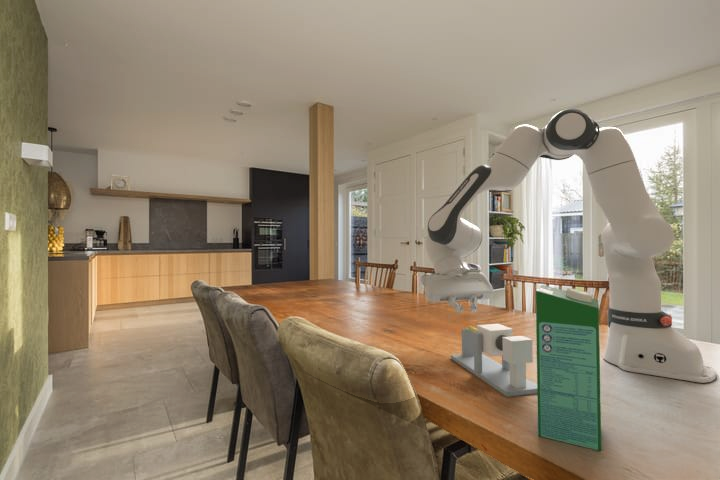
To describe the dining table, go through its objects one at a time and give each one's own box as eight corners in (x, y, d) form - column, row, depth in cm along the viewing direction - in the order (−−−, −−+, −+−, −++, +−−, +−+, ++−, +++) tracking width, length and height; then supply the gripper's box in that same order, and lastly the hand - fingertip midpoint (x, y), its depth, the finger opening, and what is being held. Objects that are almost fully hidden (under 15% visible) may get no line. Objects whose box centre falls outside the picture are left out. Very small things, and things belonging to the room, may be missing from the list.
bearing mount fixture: (451, 358, 103) (450, 317, 103) (479, 355, 105) (479, 315, 105) (506, 396, 78) (505, 343, 78) (543, 392, 80) (542, 339, 80)
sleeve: (477, 348, 92) (477, 325, 92) (498, 347, 94) (498, 323, 94) (490, 356, 86) (490, 330, 86) (513, 354, 88) (512, 329, 88)
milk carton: (601, 451, 58) (598, 293, 58) (537, 436, 62) (535, 289, 62) (599, 426, 65) (597, 286, 65) (543, 414, 70) (541, 284, 70)
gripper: (421, 267, 107) (436, 306, 98) (484, 265, 112) (504, 302, 102) (416, 280, 112) (429, 319, 102) (477, 278, 116) (495, 315, 107)
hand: (467, 311), depth 102 cm, fingers open, 3 cm apart
